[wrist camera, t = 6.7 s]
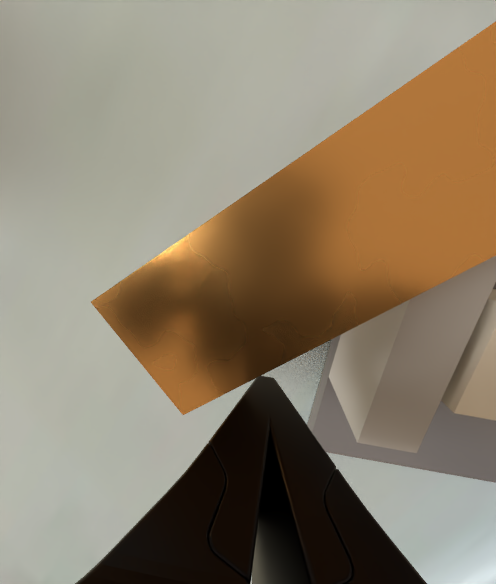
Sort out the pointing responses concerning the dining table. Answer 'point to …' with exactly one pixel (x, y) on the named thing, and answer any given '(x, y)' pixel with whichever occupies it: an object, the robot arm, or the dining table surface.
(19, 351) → the dining table surface
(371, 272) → the copper metal plate
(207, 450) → the robot arm
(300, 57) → the dining table surface
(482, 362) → the plug
